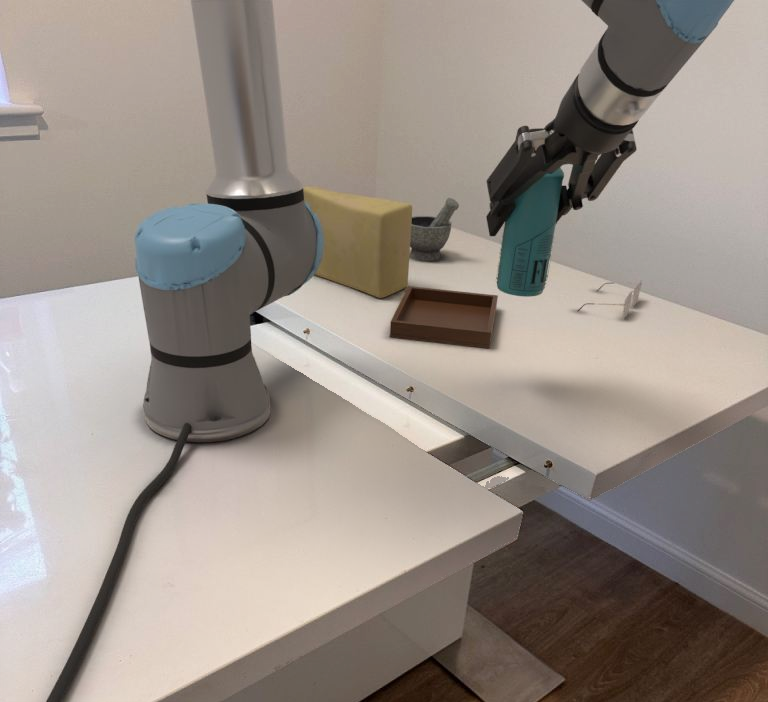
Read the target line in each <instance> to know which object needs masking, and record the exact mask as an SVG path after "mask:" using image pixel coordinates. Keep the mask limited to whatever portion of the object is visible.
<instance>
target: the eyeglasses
mask: <svg viewBox="0 0 768 702" xmlns="http://www.w3.org/2000/svg"><path fill="white" fill-rule="evenodd" d="M608 284H610V285H611V284H615V282H606V283H603V284H602V285H601V286H600V287H599V288H598V289H596V292H599V291H600V290H601V289H602V287H604V286H605V285H608ZM622 284H623V285H624V284H625V285H627V284H628V285H631V284H632V285H633V284H634V285H635V286H634V289H633V290H630V291H629V293H628V295H627V296H625V299H624V302H623V303H598V305H603V306H623V308H622V309H623V311H622V312H623V313H622V318H623V319H625V318H626V316H628V314H629V311H630V307H631V303H632V306H635V305H636V304H637V303H638V301H639V296H640V293H641V292H640V291H641V286H642V285H643V282H642V280H641V279H640V280H639V281H638V282H621V285H622ZM586 305H595V302H594V303H593V302H592V303H591V302H587V303H584V304H583V305H581V306H580V308H578V309H577V310H576V312H580V311H581V309H582V308H583V307H584V306H586Z"/></svg>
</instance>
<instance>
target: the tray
mask: <svg viewBox="0 0 768 702" xmlns="http://www.w3.org/2000/svg"><path fill="white" fill-rule="evenodd" d="M498 299H499V295H497V294H488V293H477V292H470V291H469V292H468V291H461V290H460V291H458V290H450V289H441V288H431V287H421V286H411V285H409V286H408V285H407V288H406V290H405V292H404V294H403V296H402V299H401V300H400V302H399V304H398V306H397V308H396V310H395V312H394V314H393V316H392V318H391V320H390V326H389V327H390V328H389V338H393V339H394V338H395V339H403V340H410V341H411V340H412V341H420V342H430V343H437V344H447V345H454V346H465V347H473V348H483V349H490V347H491V342H492V341H491V340H492V335H493V331H494V330H493V329H494V323H495V319H496V312H497V305H498Z"/></svg>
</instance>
